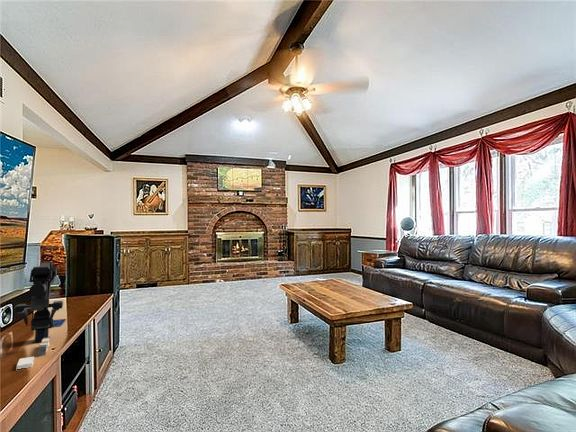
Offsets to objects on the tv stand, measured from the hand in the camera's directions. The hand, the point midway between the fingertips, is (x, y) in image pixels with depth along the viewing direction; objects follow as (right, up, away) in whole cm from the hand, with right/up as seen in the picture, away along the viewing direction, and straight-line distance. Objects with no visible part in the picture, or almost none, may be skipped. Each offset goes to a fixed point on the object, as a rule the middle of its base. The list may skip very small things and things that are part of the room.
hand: (38, 324), depth 158 cm
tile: (+6, -11, -15) cm, 20 cm away
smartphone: (-19, -13, +39) cm, 45 cm away
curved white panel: (+4, -12, -2) cm, 13 cm away
